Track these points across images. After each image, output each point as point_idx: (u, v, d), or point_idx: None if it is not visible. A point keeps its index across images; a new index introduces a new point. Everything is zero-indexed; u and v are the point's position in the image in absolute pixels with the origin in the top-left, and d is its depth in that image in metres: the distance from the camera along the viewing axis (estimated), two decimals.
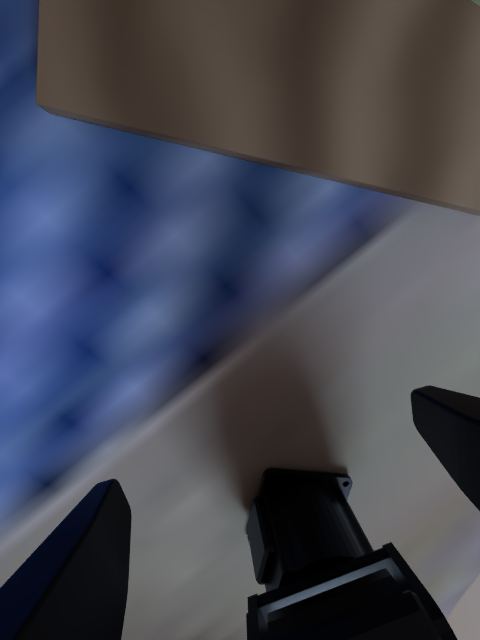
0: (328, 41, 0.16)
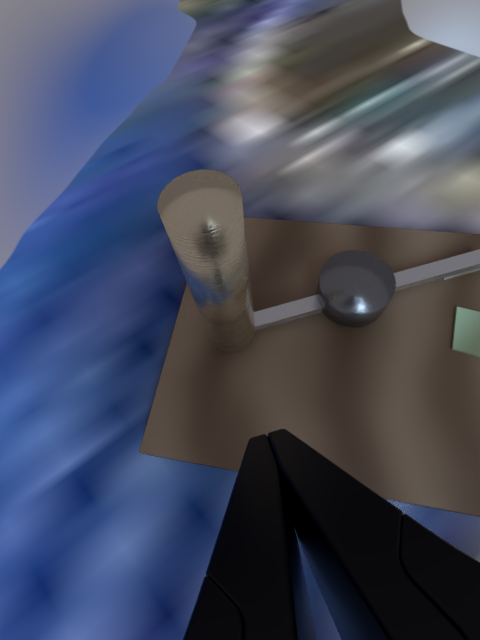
0: (361, 391, 0.20)
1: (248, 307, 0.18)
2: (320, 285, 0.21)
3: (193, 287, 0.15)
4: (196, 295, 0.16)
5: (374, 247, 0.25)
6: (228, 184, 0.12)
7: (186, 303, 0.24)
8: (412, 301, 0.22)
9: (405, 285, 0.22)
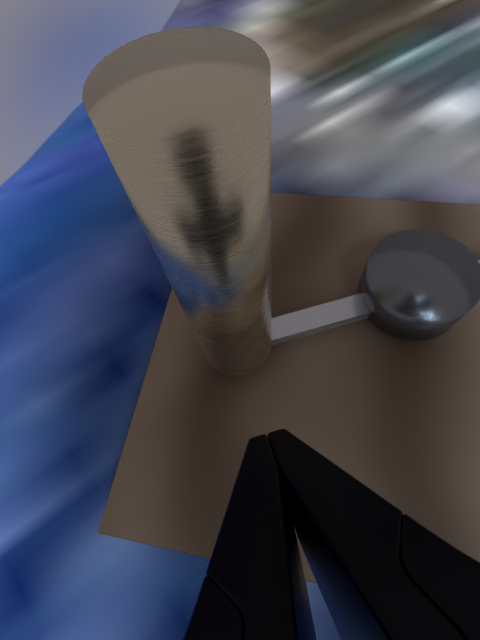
0: (433, 438, 0.13)
1: (266, 312, 0.11)
2: (369, 279, 0.14)
3: (173, 278, 0.09)
4: (180, 292, 0.09)
5: (432, 229, 0.18)
6: (239, 47, 0.06)
7: (174, 306, 0.17)
8: None
9: None
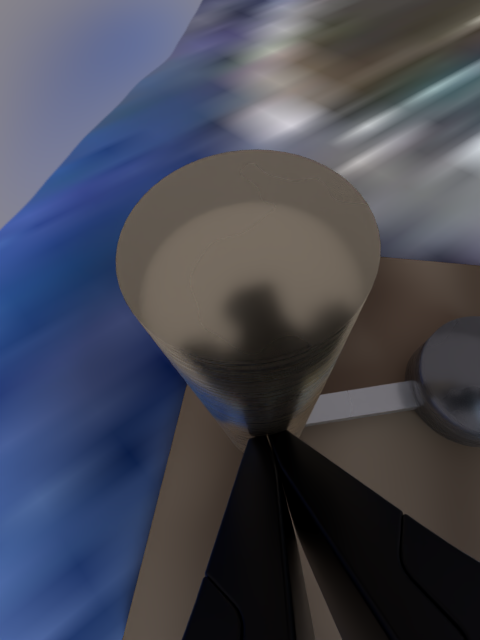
0: None
1: (306, 422, 0.09)
2: (424, 373, 0.12)
3: (205, 406, 0.07)
4: None
5: None
6: (336, 199, 0.04)
7: None
8: None
9: None
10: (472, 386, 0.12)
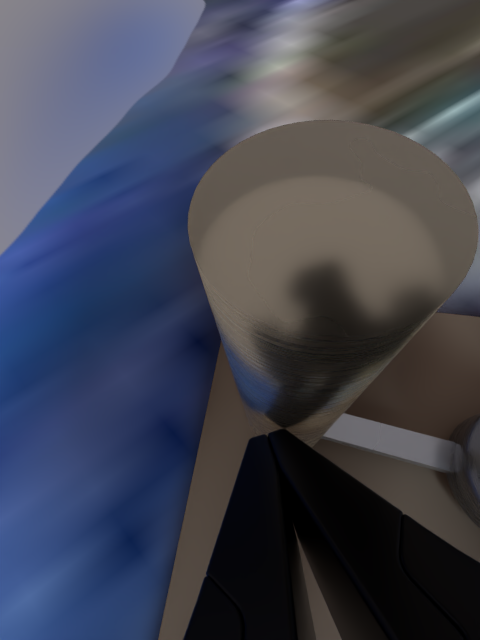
0: None
1: (324, 432, 0.09)
2: (473, 441, 0.11)
3: None
4: None
5: None
6: (442, 201, 0.04)
7: (203, 469, 0.13)
8: None
9: None
10: None
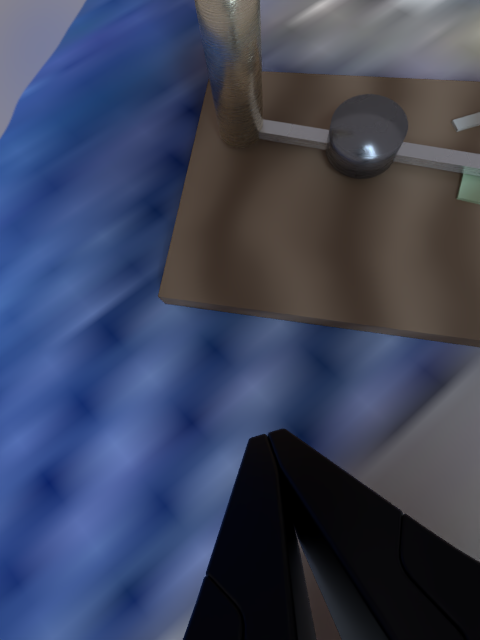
0: (365, 239, 0.21)
1: (248, 87, 0.19)
2: (333, 115, 0.21)
3: (199, 24, 0.16)
4: (202, 39, 0.17)
5: None
6: None
7: (194, 162, 0.24)
8: None
9: (416, 159, 0.21)
10: (353, 127, 0.20)
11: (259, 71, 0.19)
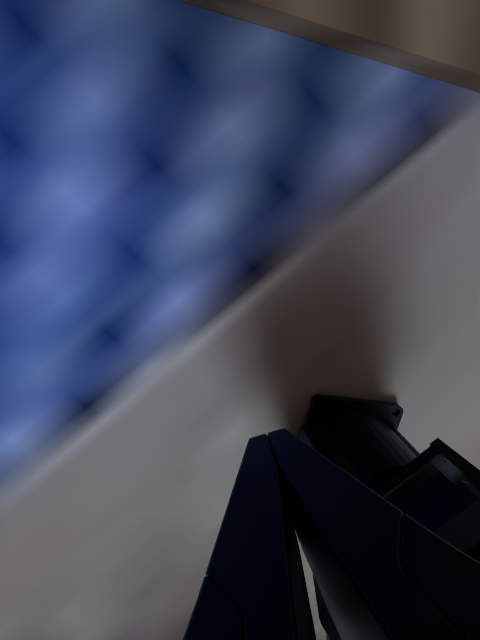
0: None
1: None
2: None
3: None
4: None
5: None
6: None
7: None
8: None
9: None
10: None
11: None
